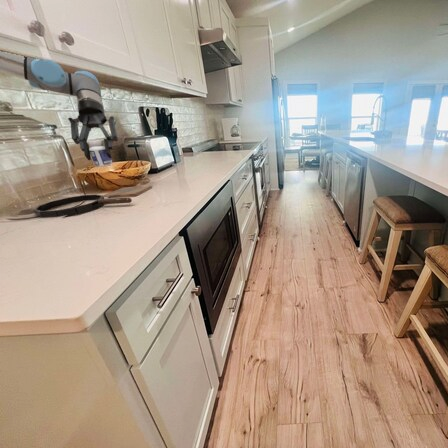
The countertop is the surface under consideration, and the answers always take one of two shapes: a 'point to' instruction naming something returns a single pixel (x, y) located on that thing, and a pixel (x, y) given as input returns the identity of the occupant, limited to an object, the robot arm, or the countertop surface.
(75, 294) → the countertop surface
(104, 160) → the pill bottle
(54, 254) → the countertop surface
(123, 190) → the trivet
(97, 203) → the pan
